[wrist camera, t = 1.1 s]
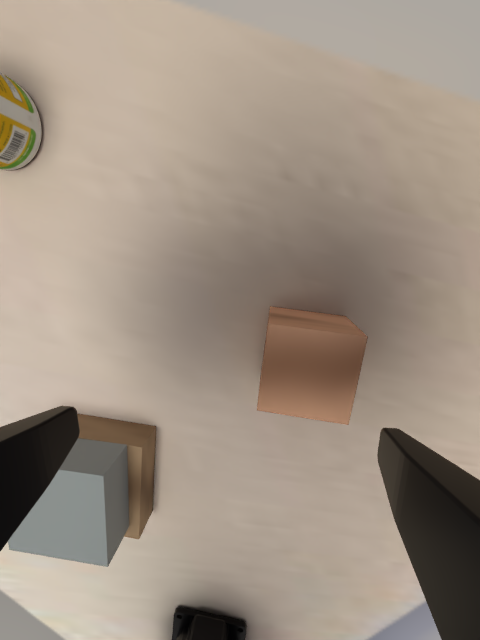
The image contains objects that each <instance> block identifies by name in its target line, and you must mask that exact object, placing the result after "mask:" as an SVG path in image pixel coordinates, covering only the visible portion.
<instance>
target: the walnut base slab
mask: <svg viewBox="0 0 480 640" xmlns="http://www.w3.org/2000/svg"><path fill="white" fill-rule="evenodd" d="M77 415H78V422H79V428H80V434H79V437H78V438H81V439H88V440H96V441H103V442H111V443H118V444H126V445H127V461H128V499H129V528H128V529H127V531H126V533H125V535H124V536H125V537H130V538H135V539H139V538H140V536H141V534H142V532H143V530H144V528H145V525H146V523H147V521H148V519H149V517H150V515H151V513H152V511H153V488H154V465H155V442H156V426H151V425H144V424H138V423H132V422H126V421H120V420H114V419H108V418H101V417H95V416H89V415H83V414H77Z"/></svg>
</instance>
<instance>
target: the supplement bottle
mask: <svg viewBox="0 0 480 640" xmlns="http://www.w3.org/2000/svg"><path fill="white" fill-rule="evenodd" d="M41 135H42V130H41V121H40V117H39V114H38V111H37V109H36V106H35V104H34V102H33V101H32V99H31V98H30V96H29V95H28V94H27V92H26V91H25V90H24V89H23V88H22V87H21V86H19V85H18V84H17V83H15V82H14V81H12V80H11V79H10V78H8V77H7V76H5V75H4V74H2V73H0V169H2V170H15V169H19V168H21V167H23V166H25V165H26V164H27V163H29V162H30V161H31V160H32V159H33V158H34V156H35V155H36V153H37V151H38V149H39V146H40V142H41Z"/></svg>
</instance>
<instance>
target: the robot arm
mask: <svg viewBox="0 0 480 640" xmlns="http://www.w3.org/2000/svg"><path fill="white" fill-rule="evenodd" d="M79 434H80V428H79V422H78V415H77V410H76V409H75V408H74V407H70V406H60V407H57V408H54V409H51V410H48V411H45V412H42V413H39V414H37V415H34V416H31V417H28V418H25V419H22V420H19V421H17V422H14V423H11V424H8V425H5V426H2V427H0V551H1V550H2V549H3V547H4V546H5V544H6V543H7V542H8V540H9V539H10V538H11V536H12V535H13V534H14V532H15V531H16V530H17V528H18V527H19V526H20V524H21V523H22V521H23V520H24V519H25V517H26V516H27V515H28V513H29V512H30V511H31V509H32V508H33V507H34V505H35V504H36V503H37V501H38V500H39V499H40V497H41V496H42V494H43V493H44V492H45V490H46V489H47V487H48V486H49V485H50V483H51V481H52V480H53V478H54V477H55V475H56V474H57V472H58V470H59V469H60V467H61V465H62V464H63V462H64V461H65V459H66V457H67V456H68V454H69V452H70V451H71V449H72V448H73V446H74V444H75V443H76V441H77V439H78V437H79ZM378 463H379V467H380V470H381V474H382V477H383V481H384V485H385V488H386V492H387V495H388V499H389V503H390V506H391V510H392V513H393V516H394V519H395V522H396V525H397V528H398V530H399V533H400V535H401V538H402V540H403V543H404V545H405V548H406V551H407V553H408V556H409V558H410V561H411V563H412V566H413V568H414V571H415V573H416V576H417V578H418V581H419V583H420V586H421V588H422V591H423V594H424V596H425V599H426V601H427V604H428V606H429V609H430V611H431V613H432V616H433V619H434V621H435V624H436V626H437V629H438V632H439V634H440V636H441V639H442V640H480V480H479V479H477V478H475V477H474V476H472V475H471V474H469V473H467V472H466V471H464V470H463V469H461V468H460V467H458V466H456V465H455V464H453V463H452V462H450V461H449V460H447V459H445V458H444V457H442V456H441V455H439V454H437V453H436V452H434V451H433V450H431V449H430V448H428V447H426V446H425V445H423V444H422V443H420V442H419V441H417V440H415V439H414V438H412V437H411V436H409V435H408V434H406V433H404V432H403V431H401V430H400V429H397V428H383V429H382V430H381V433H380V440H379V447H378ZM246 627H247V626H246V623H245V622H244V621H241V620H236V619H232V618H227V617H223V616H218V615H213V614H209V613H204V612H200V611H195V610H190V609H186V608H181V607H179V608H176V610H175V614H174V622H173V635H172V640H245V635H246Z"/></svg>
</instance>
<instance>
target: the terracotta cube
mask: <svg viewBox="0 0 480 640" xmlns="http://www.w3.org/2000/svg"><path fill="white" fill-rule="evenodd" d="M367 338H368V337H367V336H366V335H365V334H364V333H363V332H362V331H361V330H360V329H359V328H358V327H357V326H356V325H354V324H353V323H352V322H351V321H350V320H349V319H348V318H347V317H346V316H340V315H333V314H325V313H317V312H309V311H302V310H294V309H286V308H278V307H271V306H270V312H269V319H268V326H267V333H266V341H265V348H264V355H263V363H262V370H261V378H260V387H259V396H258V404H257V410H258V411H265V412H271V413H277V414H283V415H290V416H296V417H302V418H309V419H315V420H321V421H327V422H334V423H340V424H346V425H348V424H349V420H350V415H351V411H352V406H353V402H354V397H355V393H356V388H357V384H358V379H359V375H360V370H361V365H362V361H363V356H364V352H365V347H366V343H367Z"/></svg>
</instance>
